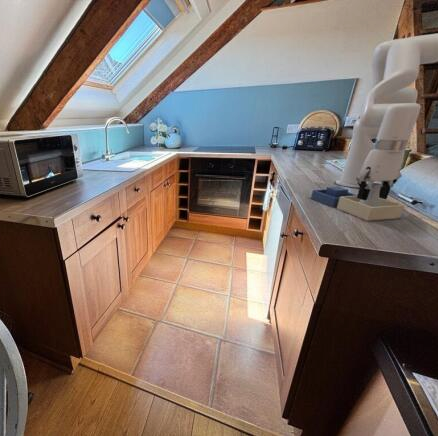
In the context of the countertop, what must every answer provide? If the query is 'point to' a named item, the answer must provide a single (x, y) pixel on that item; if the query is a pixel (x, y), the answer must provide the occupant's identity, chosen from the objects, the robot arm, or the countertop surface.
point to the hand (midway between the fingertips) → (371, 198)
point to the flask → (373, 196)
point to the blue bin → (327, 197)
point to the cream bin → (370, 208)
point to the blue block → (336, 192)
